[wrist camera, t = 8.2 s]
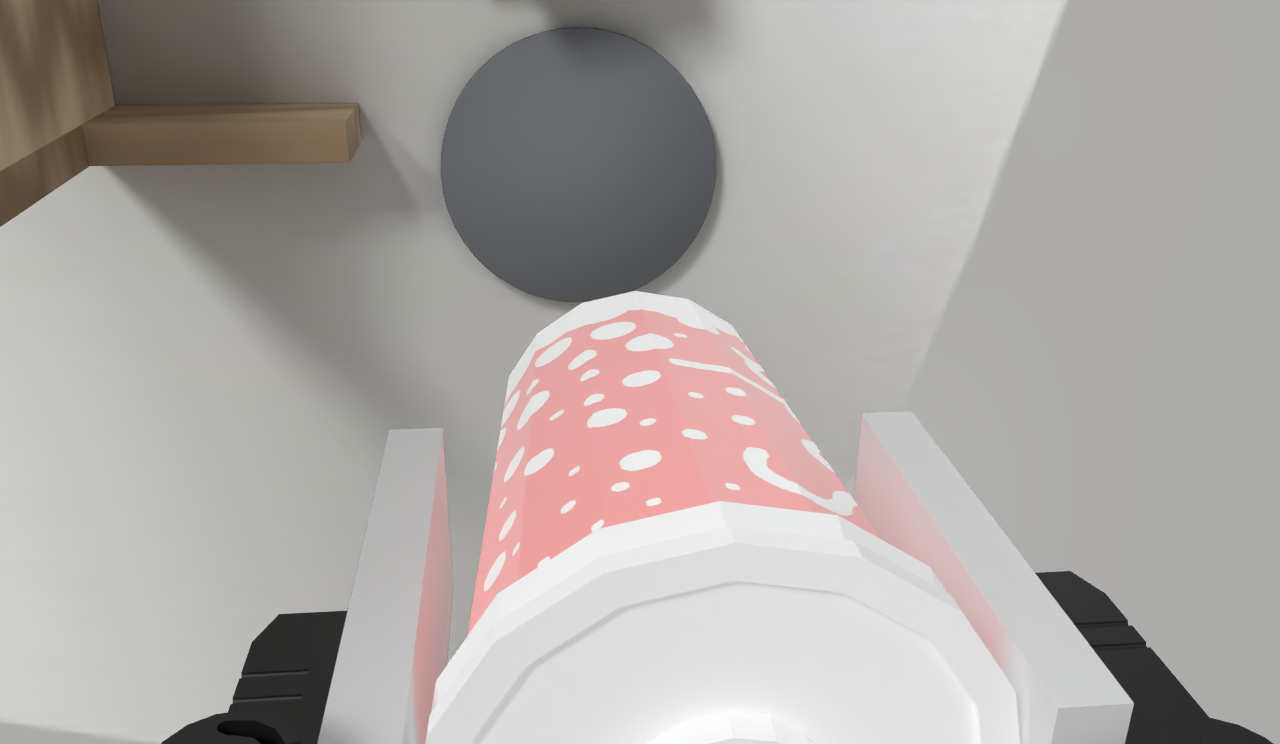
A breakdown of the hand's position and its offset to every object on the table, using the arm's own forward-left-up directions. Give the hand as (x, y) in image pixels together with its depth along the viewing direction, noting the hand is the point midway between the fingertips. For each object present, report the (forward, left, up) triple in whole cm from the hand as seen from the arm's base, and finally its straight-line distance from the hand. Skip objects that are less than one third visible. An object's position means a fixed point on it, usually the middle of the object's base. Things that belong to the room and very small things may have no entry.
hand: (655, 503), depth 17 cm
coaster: (0, 0, -22) cm, 22 cm away
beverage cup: (0, 0, -3) cm, 3 cm away
